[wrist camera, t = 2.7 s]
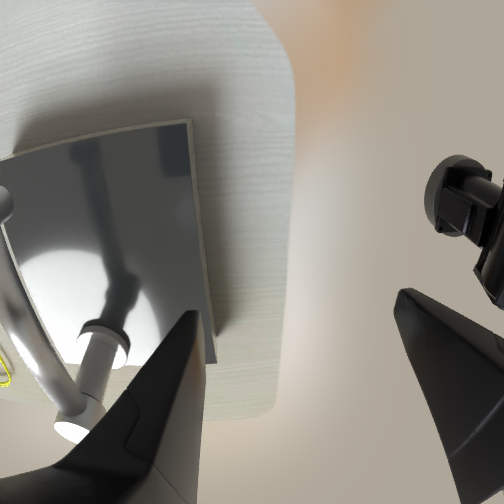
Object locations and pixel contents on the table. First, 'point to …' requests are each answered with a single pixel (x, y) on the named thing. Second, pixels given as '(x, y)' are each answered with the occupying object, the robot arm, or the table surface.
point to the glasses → (7, 373)
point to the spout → (41, 346)
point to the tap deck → (111, 243)
